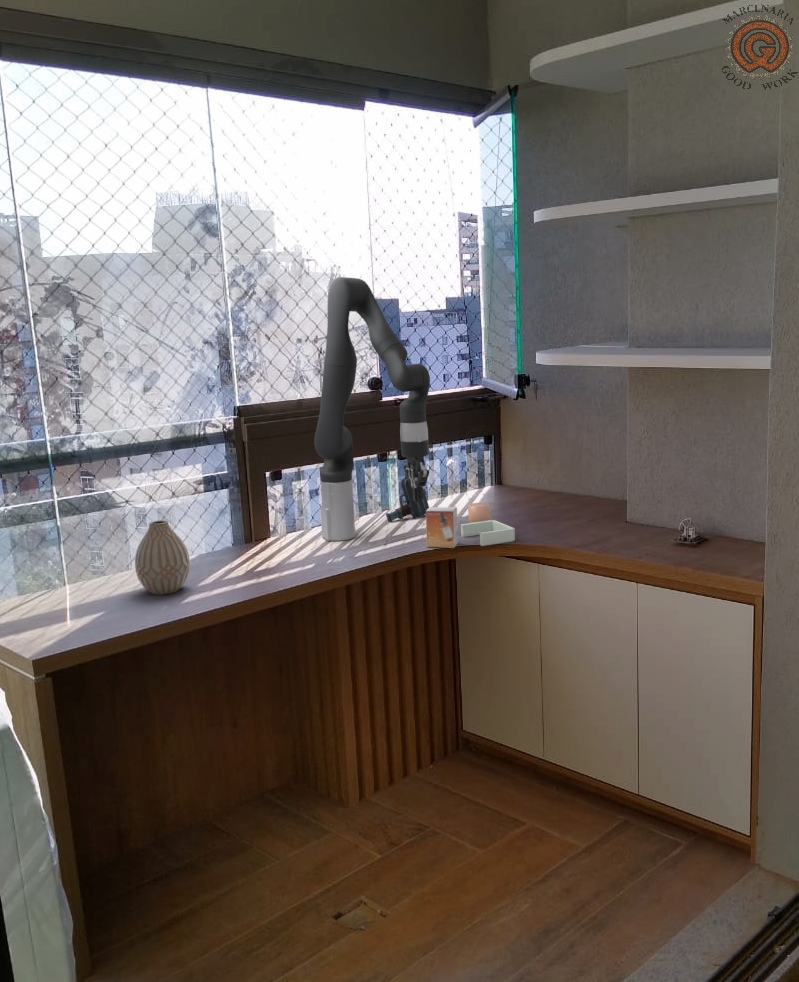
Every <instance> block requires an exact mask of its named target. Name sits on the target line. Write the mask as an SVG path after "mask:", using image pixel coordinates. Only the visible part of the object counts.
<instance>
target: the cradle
mask: <svg viewBox="0 0 799 982" xmlns="http://www.w3.org/2000/svg"><path fill="white" fill-rule="evenodd" d="M460 529H461V530H460V534H461V535H460V536H461V537H462V538H464V537H472V536H473V537H474V536H479V546H480V547H481V546H482V547H484V546H491V545H498V544H504V543H511V542H514V541H515V540H516V533H515V531H516V529H515V527H512V526H511V525H508V524H505V523H502V522H500V521H497V520H495V519H494V520H493V519H490V520H488V521H481V522H474V523H469V522H468V523H461V524H460Z"/></svg>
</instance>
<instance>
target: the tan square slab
mask: <svg viewBox="0 0 799 982" xmlns="http://www.w3.org/2000/svg"><path fill="white" fill-rule="evenodd" d="M490 508H491V507H490V503H487V502H473V503H469V504H468V505H467V515H468V519H467V520H468V523H474V522H481V521H488V520H491V512H490V510H491V509H490Z"/></svg>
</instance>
